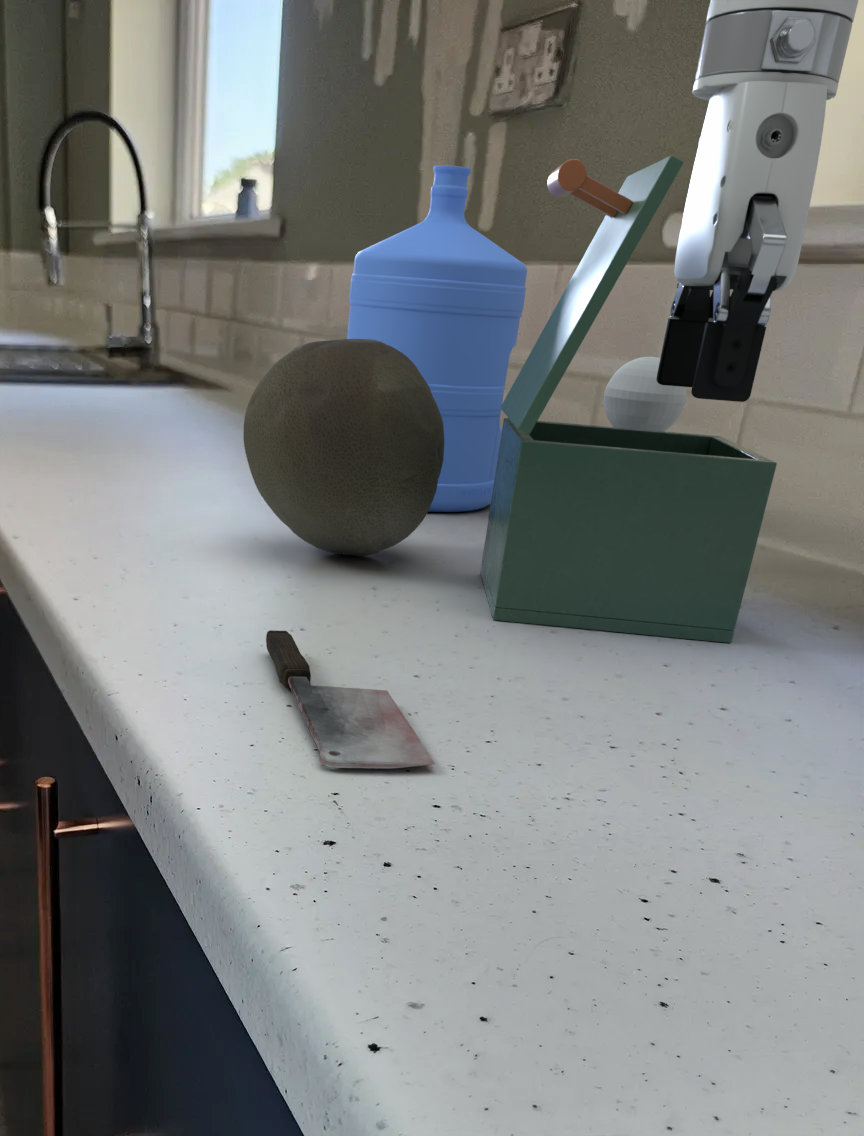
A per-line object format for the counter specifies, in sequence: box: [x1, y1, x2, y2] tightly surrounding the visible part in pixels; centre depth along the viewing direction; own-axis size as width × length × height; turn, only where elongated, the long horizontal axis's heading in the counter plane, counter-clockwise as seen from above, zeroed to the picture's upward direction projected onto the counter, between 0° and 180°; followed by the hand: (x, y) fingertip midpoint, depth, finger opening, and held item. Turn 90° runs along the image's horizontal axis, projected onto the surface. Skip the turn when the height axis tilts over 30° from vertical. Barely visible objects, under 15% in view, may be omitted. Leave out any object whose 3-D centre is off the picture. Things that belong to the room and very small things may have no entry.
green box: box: [479, 417, 778, 644], centre depth 73 cm, size 15×13×11 cm
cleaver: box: [265, 629, 436, 769], centre depth 54 cm, size 16×1×5 cm
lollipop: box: [603, 356, 687, 432], centre depth 87 cm, size 6×6×15 cm
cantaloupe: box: [243, 338, 444, 557], centre depth 81 cm, size 14×14×15 cm
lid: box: [500, 154, 684, 435], centre depth 68 cm, size 15×13×5 cm
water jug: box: [346, 165, 528, 513], centre depth 103 cm, size 16×16×28 cm
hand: (698, 392), depth 69 cm, fingers open, 9 cm apart
